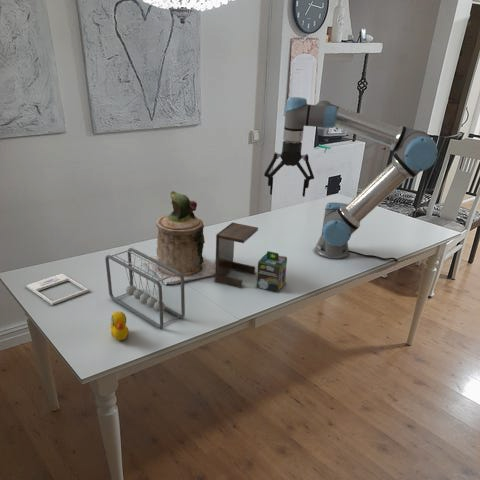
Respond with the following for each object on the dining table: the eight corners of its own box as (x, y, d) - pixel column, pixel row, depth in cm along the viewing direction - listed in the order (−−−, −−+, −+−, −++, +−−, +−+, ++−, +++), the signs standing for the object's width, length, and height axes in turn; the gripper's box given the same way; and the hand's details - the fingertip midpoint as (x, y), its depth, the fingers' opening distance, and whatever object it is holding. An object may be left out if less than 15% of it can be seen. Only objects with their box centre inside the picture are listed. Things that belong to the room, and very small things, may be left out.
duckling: (131, 346, 146) (129, 319, 141) (114, 349, 144) (111, 322, 139) (126, 327, 155) (124, 301, 150) (109, 329, 153) (106, 303, 148)
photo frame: (62, 272, 183) (88, 288, 173) (62, 275, 184) (88, 291, 174) (26, 284, 174) (51, 302, 164) (26, 287, 174) (52, 305, 164)
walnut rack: (254, 273, 195) (258, 227, 184) (240, 288, 183) (243, 240, 172) (230, 267, 198) (232, 222, 187) (215, 281, 186) (216, 234, 176)
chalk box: (285, 283, 188) (289, 249, 180) (277, 293, 181) (281, 258, 173) (263, 278, 191) (266, 244, 183) (255, 287, 184) (258, 252, 176)
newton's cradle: (109, 298, 171) (104, 253, 161) (132, 289, 177) (128, 245, 168) (161, 331, 154) (159, 283, 145) (185, 319, 161) (184, 273, 152)
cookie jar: (166, 287, 180) (162, 206, 163) (141, 262, 197) (136, 187, 180) (221, 274, 192) (223, 198, 175) (193, 252, 209) (193, 180, 192)
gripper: (323, 141, 185) (316, 193, 197) (260, 137, 186) (257, 190, 197) (325, 144, 179) (318, 199, 190) (260, 141, 179) (257, 195, 191)
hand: (287, 194), depth 194 cm, fingers open, 13 cm apart
